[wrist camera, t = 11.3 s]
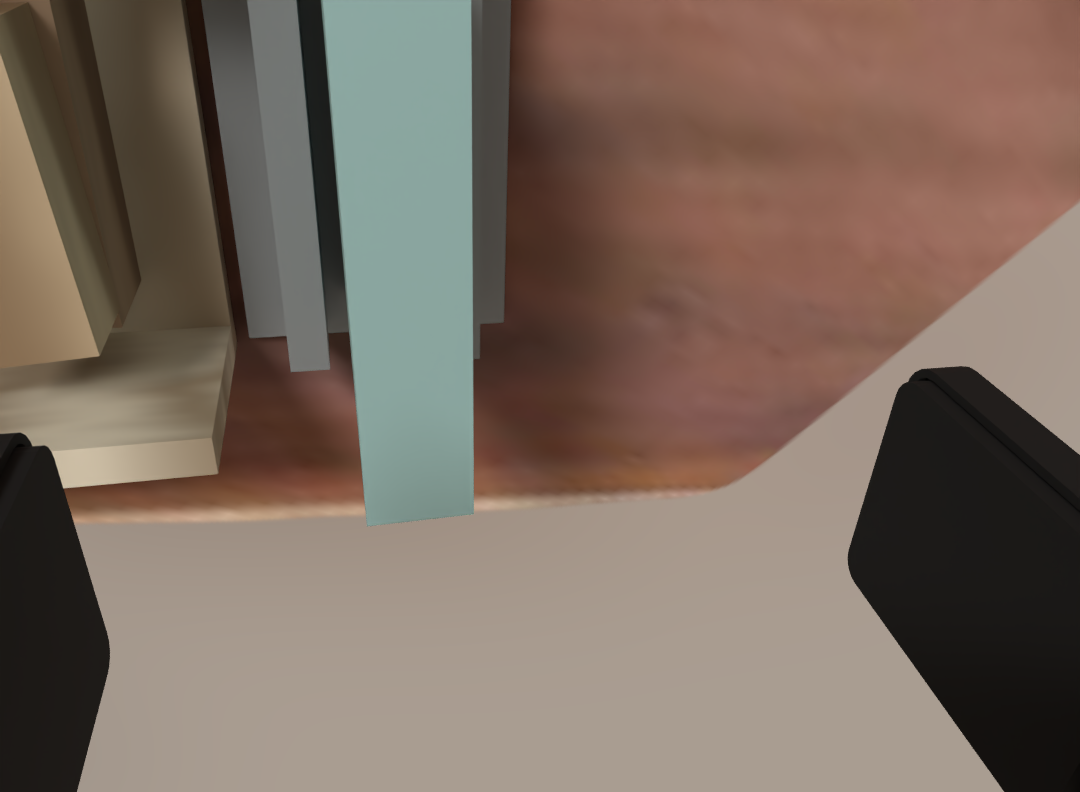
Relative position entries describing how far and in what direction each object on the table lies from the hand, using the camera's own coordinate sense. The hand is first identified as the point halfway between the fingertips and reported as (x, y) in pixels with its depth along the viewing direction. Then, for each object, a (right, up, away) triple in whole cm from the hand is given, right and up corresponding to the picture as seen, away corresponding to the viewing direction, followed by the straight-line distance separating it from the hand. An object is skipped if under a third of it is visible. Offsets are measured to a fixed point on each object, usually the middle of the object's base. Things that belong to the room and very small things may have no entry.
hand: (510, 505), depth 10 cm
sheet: (-5, +10, +18) cm, 21 cm away
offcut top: (-13, +7, +13) cm, 20 cm away
